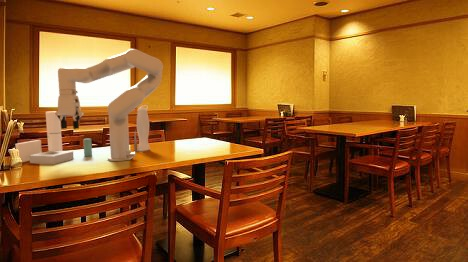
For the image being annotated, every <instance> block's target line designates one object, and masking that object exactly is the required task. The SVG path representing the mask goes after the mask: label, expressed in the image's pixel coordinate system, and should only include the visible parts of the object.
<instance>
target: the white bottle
mask: <svg viewBox="0 0 468 262" xmlns="http://www.w3.org/2000/svg"><path fill="white" fill-rule="evenodd" d="M138 107H139V108H137V113H136V131H137V134H136V132H134V138H133V140H134V144H133V146H134V149H133V152H139V153H142V152H149V151H151V147H150V144H149V140H148V139H149V134H150V117H149V115H148V108H149V105H147V104H144V105H141V106H140V105H139V106H138ZM137 136H138V137H137ZM137 138H138V140H139V142H138V141H137ZM137 143H138V144H137Z"/></svg>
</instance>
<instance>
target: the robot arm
mask: <svg viewBox="0 0 468 262" xmlns="http://www.w3.org/2000/svg"><path fill="white" fill-rule="evenodd" d="M134 68H135V69H140V70H141V71H144V72H146V75H145V77H143V78H142V79H141V80H140V81H138V82H137V83H136V84H135V85H133V86H131V87H129V88H127V89H126V90H125V91H124V92H122V93H121V94H119V95H118V96H117V97H116V98H115V99H113V100H112V101H111V102H110V103H109V104H108V106H107V110H106V111H107V113H108V125H109V127H108V129H109V145H110V156H108V157H107V161H110V162H124V161H130V160H132V159H133V157H136V154H137V153H136V152H132V149H130V136H129V135H130V133H129V132H130V131H129V130H130V129H129V114H130V113H131V112H133V111H134V110H135V109H136V108H137V107H140V105H141V104H142V103H143V102H144V100H145V99H146V98H147V97H149V96H150V95H151V94H152V93H153V92H154V91H156V90H157V89H158V87H159V86H160V85H161V83H162V79H163V70H164V64H163V62H162V61H161V60H160V59H159V58H157V57H155V56H152V55H149V54H147V53H145V52H143V51H141V50H139V49H136V48H129V49H128V50H126V51H125V52H123V53H120V54H117V55H112V56H111V57H107V58H105V59H104V60H102V61H101V62H98V63H97V64H94V65H91V66H89V67H75V68H74V67H73V68H72V67H60V68H58V69H57V77H58V78H57V79H58V80H57V81H58V93H59V95H58V99H57V110H56V113H55V114H56V116H57V117H58V118H59V120H60V122H61V130H64V129H67V128H68V126H67V125H68V124H67V120H66V118H67V116H69V117H70V116H72V119H73V121H72V126H73V127H72V128H73V129H74V130H77V129H80V125H79V124H80V123H79V122H80V120H81V118H82V117H83V115H84V112H83V111H82V110H81V103H80V99H79V96H78V95H77V94H78V90H77V87H76V83H81V84H90V83H92V82H95V81H99V80H101V79H104V78H107V77H110V76H113V75H117V74H119V73H121V72H124V71H128V70H131V69H134Z"/></svg>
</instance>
